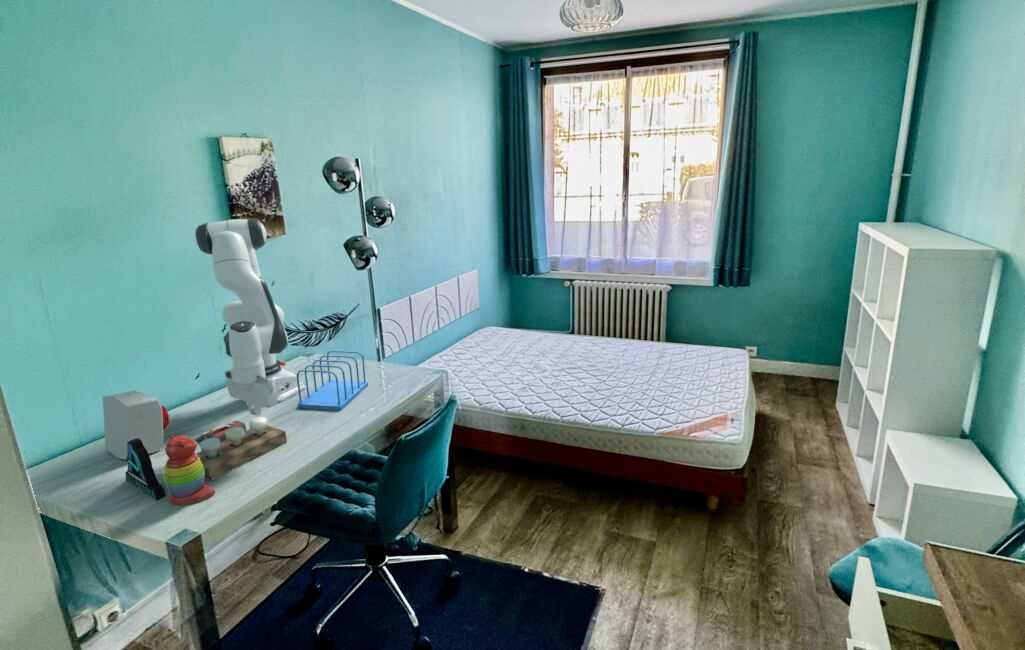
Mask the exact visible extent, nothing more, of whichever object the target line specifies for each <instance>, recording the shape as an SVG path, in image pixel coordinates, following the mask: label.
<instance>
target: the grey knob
mask: <svg viewBox="0 0 1025 650" xmlns="http://www.w3.org/2000/svg"><path fill="white" fill-rule="evenodd" d="M199 447H200V450H201V451H202V452H204V453H207V454H208V459H213V458H215V457H217V451H216V450H218V449H220V447H221V443H220V439H219V438H208V439H205V440H204V439H202V441H200V443H199Z"/></svg>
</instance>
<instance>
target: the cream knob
mask: <svg viewBox="0 0 1025 650" xmlns="http://www.w3.org/2000/svg"><path fill="white" fill-rule="evenodd" d="M248 426H249V429H251V430H255V432H256V436H258V437H259V436H262V435H264V430H263V429H264V428H266V427H267V426H269V425H268V420H267V417H265V416H258V417H253V418H251V419H250V420H249V421H248Z"/></svg>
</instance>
